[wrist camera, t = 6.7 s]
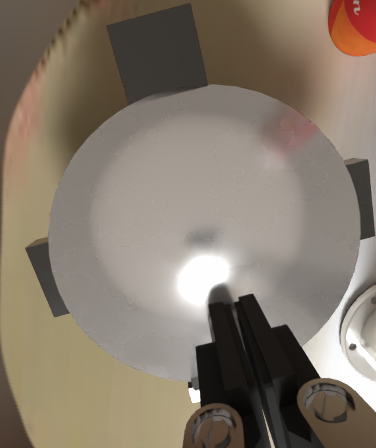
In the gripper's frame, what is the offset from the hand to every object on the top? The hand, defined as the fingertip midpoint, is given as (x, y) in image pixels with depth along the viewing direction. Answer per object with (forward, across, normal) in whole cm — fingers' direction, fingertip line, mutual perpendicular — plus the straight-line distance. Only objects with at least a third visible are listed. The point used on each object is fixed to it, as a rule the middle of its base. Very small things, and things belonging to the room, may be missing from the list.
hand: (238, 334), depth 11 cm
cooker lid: (+8, 0, -2) cm, 8 cm away
